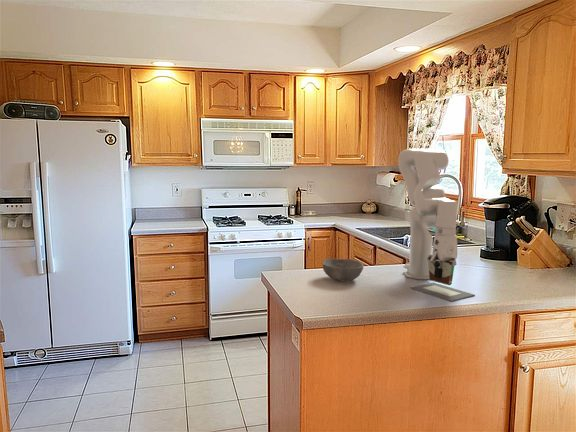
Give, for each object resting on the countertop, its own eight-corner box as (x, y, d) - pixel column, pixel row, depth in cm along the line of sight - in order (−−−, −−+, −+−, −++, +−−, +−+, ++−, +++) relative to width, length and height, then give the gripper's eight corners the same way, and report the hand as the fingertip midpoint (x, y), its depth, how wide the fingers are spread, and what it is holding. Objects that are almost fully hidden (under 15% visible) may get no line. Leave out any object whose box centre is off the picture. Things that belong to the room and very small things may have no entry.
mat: (410, 288, 189) (410, 286, 189) (433, 283, 197) (433, 282, 197) (451, 301, 173) (451, 300, 172) (474, 295, 180) (474, 294, 180)
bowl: (362, 287, 190) (362, 268, 189) (319, 284, 193) (319, 265, 192) (363, 276, 207) (364, 258, 206) (324, 273, 211) (325, 256, 210)
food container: (462, 283, 181) (463, 258, 180) (452, 286, 177) (453, 260, 176) (435, 277, 191) (436, 253, 190) (426, 279, 187) (427, 255, 186)
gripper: (438, 234, 174) (436, 281, 176) (467, 231, 183) (464, 276, 185) (423, 231, 180) (420, 277, 182) (451, 228, 189) (449, 272, 191)
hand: (442, 276), depth 184 cm, fingers closed on food container, 5 cm apart
